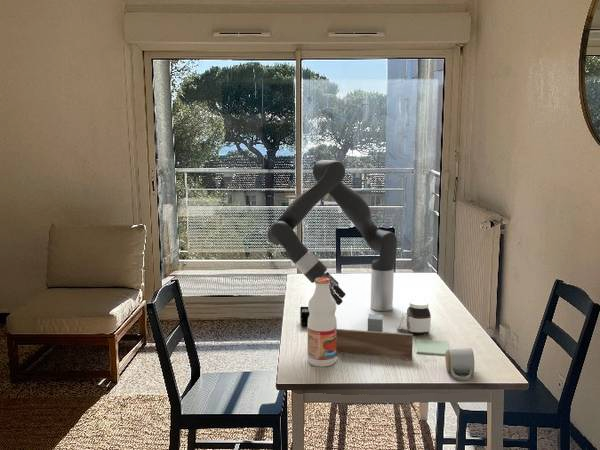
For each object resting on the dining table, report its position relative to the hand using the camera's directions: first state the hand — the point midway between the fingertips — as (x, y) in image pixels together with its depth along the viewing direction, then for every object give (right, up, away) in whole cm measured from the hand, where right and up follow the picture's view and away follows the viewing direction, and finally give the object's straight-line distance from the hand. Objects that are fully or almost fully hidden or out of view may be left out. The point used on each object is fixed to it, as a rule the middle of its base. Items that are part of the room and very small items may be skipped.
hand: (342, 299), depth 205 cm
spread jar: (+27, -14, +12) cm, 33 cm away
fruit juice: (-8, -19, -15) cm, 25 cm away
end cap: (-10, -12, +21) cm, 26 cm away
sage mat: (+31, -16, -3) cm, 35 cm away
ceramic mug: (+35, -20, -24) cm, 47 cm away
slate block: (+12, -16, 0) cm, 19 cm away
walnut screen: (+10, -17, -9) cm, 22 cm away
